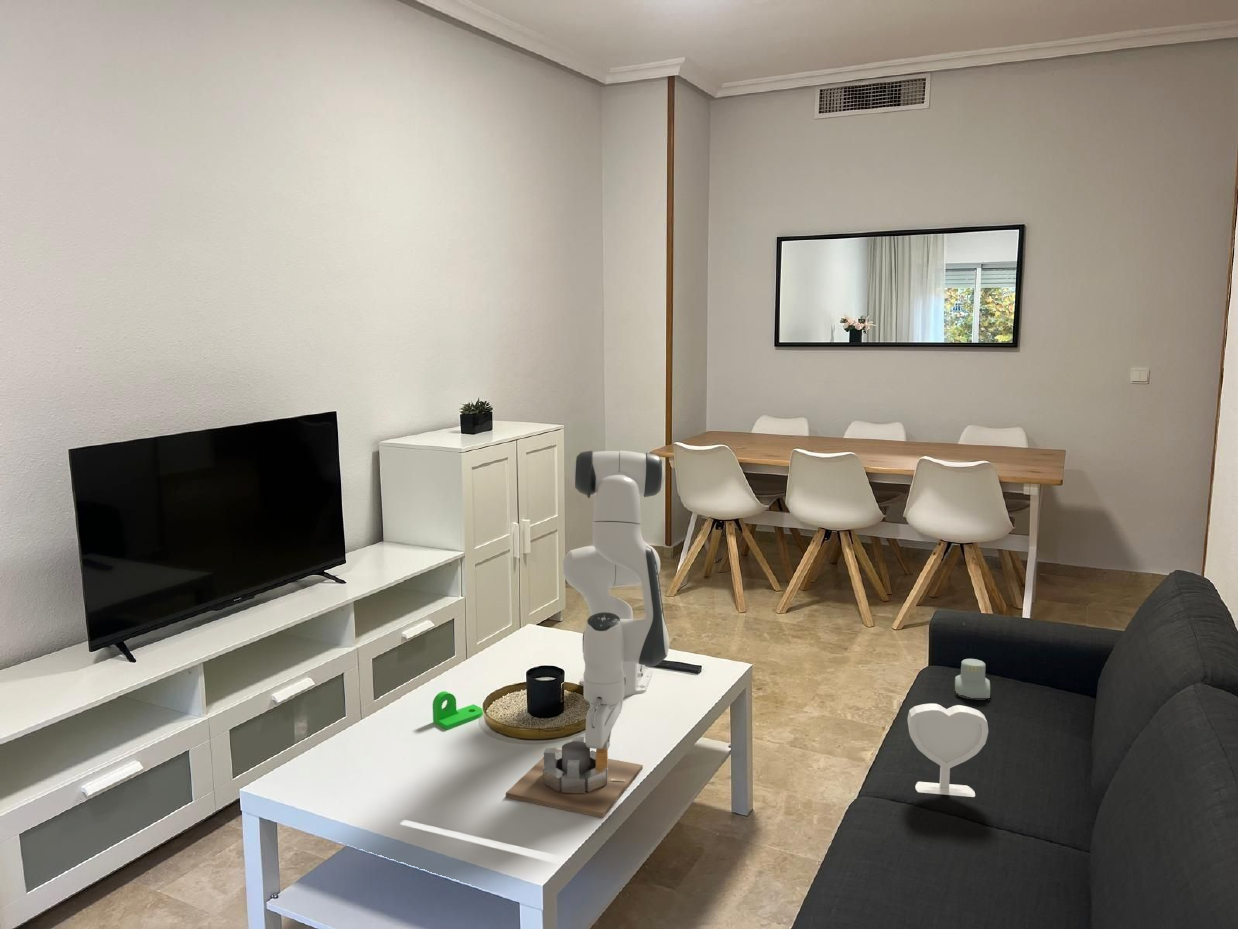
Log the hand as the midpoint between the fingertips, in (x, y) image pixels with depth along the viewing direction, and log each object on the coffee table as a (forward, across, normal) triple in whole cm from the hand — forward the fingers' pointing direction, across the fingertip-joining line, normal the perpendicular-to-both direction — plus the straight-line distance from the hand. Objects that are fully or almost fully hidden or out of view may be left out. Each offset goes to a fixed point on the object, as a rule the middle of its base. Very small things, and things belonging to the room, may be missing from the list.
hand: (604, 749), depth 201 cm
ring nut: (+4, -6, +5) cm, 9 cm away
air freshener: (+6, +59, -85) cm, 103 cm away
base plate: (+5, -6, +5) cm, 9 cm away
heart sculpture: (+5, +7, -72) cm, 72 cm away
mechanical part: (+6, +19, +41) cm, 45 cm away
